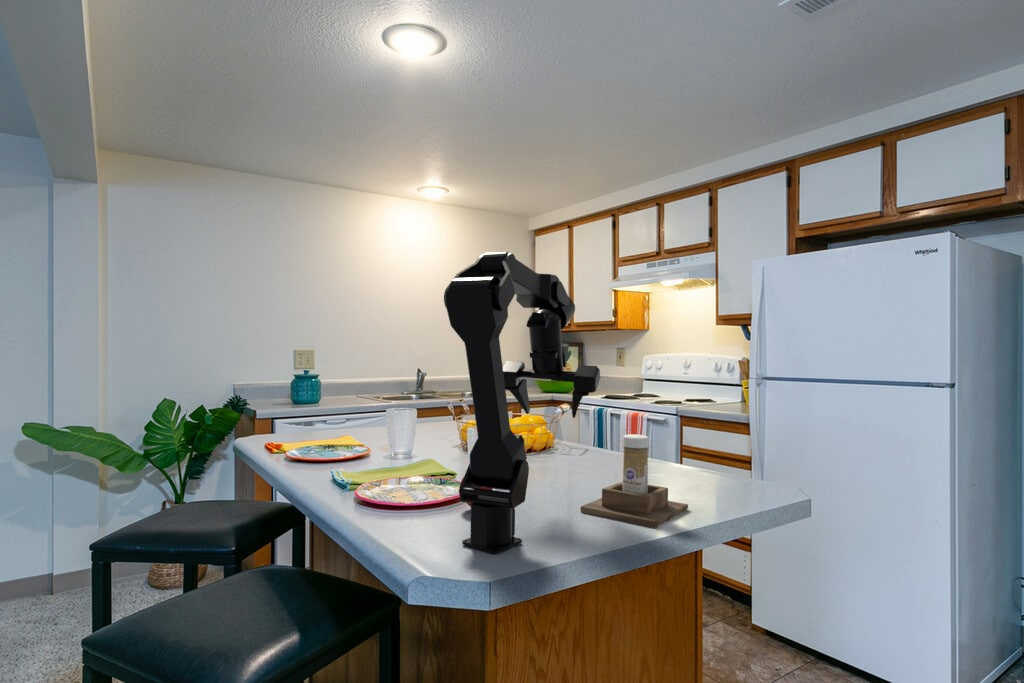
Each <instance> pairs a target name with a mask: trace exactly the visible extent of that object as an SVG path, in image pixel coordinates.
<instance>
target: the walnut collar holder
mask: <svg viewBox="0 0 1024 683" xmlns="http://www.w3.org/2000/svg"><path fill="white" fill-rule="evenodd" d="M687 509H688V510H689V504H688V503H683V502H677V501H671V500H669V487H665V486H658V485H652V484H648V493H647V494H646V495H641V494H635V493H630V492H624V491H623V481H619V482H617V483H615V484H612V485H608V486H607V487H604V488H602V489H601V498H597V499H596V500H593V501H591V502H588V503H586V504H583V505H580V512H581V513H584V514H588V515H594V516H597V517H602V518H606V519H611V520H616V521H621V522H624V521H625V522H626V523H629V522H630V524H635V525H638V524H639V526H644V527H648V528H652V527H654V528H653V529H656V528H658V527H659V525H660V526H661V524H662V525H664V524H665V523H666V521H667V522H669V521H671V520H672V519H674V518H676V517H678V516H680V515H681V514H680V513H682V512H683V513H685V512H687V511H688V510H687ZM686 510H687V511H686ZM684 511H685V512H684ZM683 513H682V514H683ZM679 514H680V515H679ZM677 515H678V516H677ZM675 516H676V517H675ZM673 517H674V518H673ZM671 518H672V519H671ZM670 519H671V520H670ZM668 520H669V521H668ZM664 522H665V523H664ZM657 526H658V527H657ZM655 527H656V528H655Z"/></svg>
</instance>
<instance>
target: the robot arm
mask: <svg viewBox="0 0 1024 683" xmlns="http://www.w3.org/2000/svg"><path fill="white" fill-rule="evenodd" d="M443 293H444V294H443V303H444V307H445V308H446V311H447V315H448V320H449V324H450V326H451V328H452V329H453V331H454V332H455V334H457V336H458V337H459V338H460V340H461V341H462V342H463V343H464V347H465V354H466V361H467V367H468V369H467V370H468V375H469V381H470V382H469V383H470V390H471V396H472V397H471V398H472V405H473V411H474V412H473V413H474V418H475V420H474V421H475V426H476V427H475V428H476V433H477V439H476V441H475V443H474V445H473V447H472V448H471V451H470V452H469V463H468V466H467V469H466V471H465V473H464V476H463V477H464V478H463V477H462V479H463V481H462V483H461V482H460V483H461V485H460V484H459V487H458V488H459V489H458V495H459V500H460V502H461V503H466V502H470V503H472V504H471V507H470V537H468V538H465V539H463V540H462V545H463V546H466V547H471V548H474V549H477V550H481V551H484V552H488V553H492V554H498V553H501V552H503V551H505V550H507V549H510V548H513V547H515V546H518V545H520V544H522V543H523V539H522V538H520V537H516V536H515V535H516V507H518V506H520V505H521V504H523V503H525V501H526V495H527V489H528V480H529V472H530V467H529V462H528V460H527V459H528V457H527V455H526V454H527V453H526V448H525V447H526V446H525V443H526V442H525V439H524V437H523V435H522V434H517V433H516V434H515V433H514V432H513V431H512V429H511V426H510V425H511V424H510V417H509V408H508V401H507V400H508V398H507V393H506V392H507V391H508V392H509V393H511V394H512V396H513V397H514V398H515V400H517V402H518V403H519V405H520V406H521V408H522V409H523V410H524V412H525V414H526V415H529V414H530V413H531V412H530V411H531V410H530V407H531V406H530V400H529V394H528V392H529V391H528V387H527V386H528V385H527V383H528V380H532V381H533V380H536V381H549V382H551V381H552V382H553V381H554V382H564V383H565V382H566V383H573V391H572V394H571V397H572V398H571V399H572V400H571V401H572V402H571V414H572V418H573V419H575V418H576V415H577V413H578V410H579V406H580V403H581V401H582V399H583V397H586V396H589V395H590V393H593V394H594V393H595V392H597V388H598V385H599V383H600V380H601V371H600V368H599V367H598V366H597V365H585V364H579V365H578V366H577V368H576V371H570V370H569V371H568V370H567V371H566V370H564V368H566V367H567V365H568V364H567V363H568V361H569V344H566V343H565V344H564V342H563V340H562V330H564V328H565V327H566V326H567V324H568V323H569V322H570V321H571V319H572V318H573V316H574V314H575V312H576V305H575V303H574V301H573V300H572V299H571V297H570V296H569V295H568V293H567V291H566V288H565V287H564V284H563V283H562V281H561V280H560V278H559V277H558V276H557V275H556V274H552V273H538V272H536V271H534V270H533V269H531V268H530V267H528V266H527V265H525V263H522V262H521V261H520V260H518V259H517V257H516V256H515V255H514V253H511V252H508V251H503V252H502V251H499V252H485V253H483V254H481V255H479V256H478V258H477V259H476V261H475V262H474V263H472V264H470V265H468V266H467V267H466V268H464V269H462V270H461V271H459V272H458V273H456V274H455V276H454V277H453V278H452V280H451V281H450V283H449V284H448V285H447V287H446V288H445V290H444V292H443ZM515 296H516V298H515V299H516V302H517V303H518V304H519V305H520V306H521V307H522V308H523V309H536V310H535V311H534V312H532V313H531V315H530V316H529V317H528V320H527V321H526V327H527V328H528V329H529V342H530V352H529V358H531V365H532V367H531V368H526V365H525V362H524V361H517V360H516V361H515V360H514V361H513V360H506V361H505V362H504V363H503V359H502V351H501V343H500V335H501V333H502V330H503V329H504V327H505V325H506V322H507V320H508V317H509V308H508V307H509V305H510V304H511V302H512V300H513V299H514V297H515ZM537 309H538V310H537ZM479 487H483V488H492V490H486V489H479ZM499 490H500V491H499Z"/></svg>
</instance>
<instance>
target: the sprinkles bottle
mask: <svg viewBox="0 0 1024 683" xmlns="http://www.w3.org/2000/svg"><path fill="white" fill-rule="evenodd" d="M649 446H650V437H649V436H648V435H645V434H644V435H643V434H638V433H637V434H635V433H633V434H625V435H623V436H622V447H623V464H622V465H623V466H622V467H623V468H622V470H623V471H622V473H623V474H622V482H623V491H624V492H630V493H635V494H641V495H646V494H647V493H648V485H649V483H648V481H649V479H648V476H649V471H648V470H649V464H648V462H649V461H648V459H649V458H648V456H649V453H648V451H649Z"/></svg>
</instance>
